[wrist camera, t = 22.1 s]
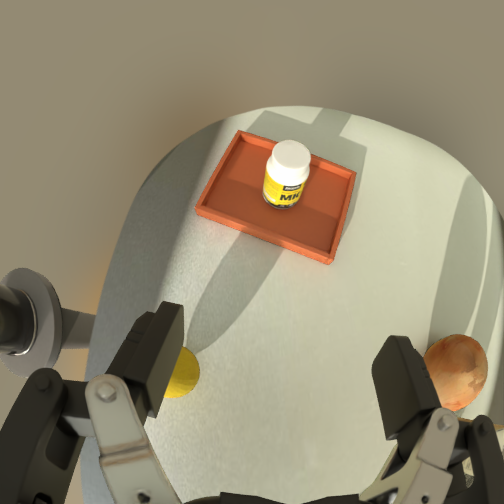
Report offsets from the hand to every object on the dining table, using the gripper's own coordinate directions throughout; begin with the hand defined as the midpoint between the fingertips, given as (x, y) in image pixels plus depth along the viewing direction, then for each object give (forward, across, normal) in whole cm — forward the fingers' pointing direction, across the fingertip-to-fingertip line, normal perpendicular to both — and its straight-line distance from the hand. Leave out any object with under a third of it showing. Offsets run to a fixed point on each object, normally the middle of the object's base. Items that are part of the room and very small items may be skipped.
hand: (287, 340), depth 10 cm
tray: (+27, 0, +2) cm, 27 cm away
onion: (+13, -24, +17) cm, 32 cm away
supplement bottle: (+27, 0, +2) cm, 27 cm away
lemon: (+11, +8, +18) cm, 23 cm away
